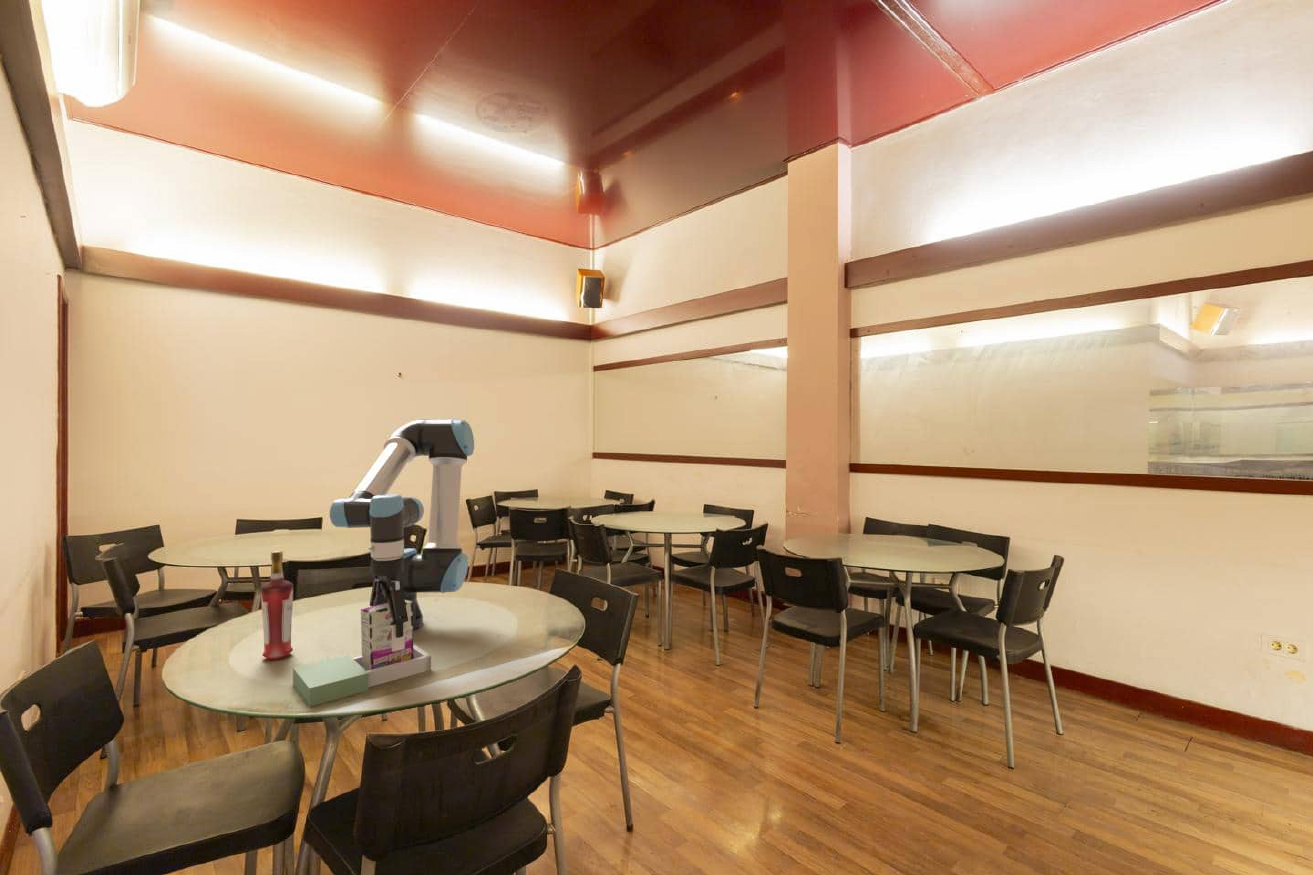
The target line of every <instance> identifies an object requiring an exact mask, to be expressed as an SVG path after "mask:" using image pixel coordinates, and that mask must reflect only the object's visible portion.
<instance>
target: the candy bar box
mask: <svg viewBox="0 0 1313 875" xmlns="http://www.w3.org/2000/svg"><path fill="white" fill-rule="evenodd" d="M405 604H406V610H407V615H408V621H407V622H405V623H404V641H405V649H402V650H398V651H394V652H393V651H392V625H390V623H391V622H392V621H393V620H392V616H391V612H390V608H389V604H388V603H384V604H380V605H376V606H368V607H364V608H361V609H360V626H361V627H360V630H361V632H360V633H361V637H360V638H361V656H362V668H364V669H365V670H366V671H368V670H372V669H376V668H380V667H384V666H387V665H391V664H395V663H399V662H403V661H407V660H411V659H414V654H413V644H414V629H413V616H412V601H409V600H405ZM399 618H401V617H399Z"/></svg>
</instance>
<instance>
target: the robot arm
mask: <svg viewBox="0 0 1313 875" xmlns="http://www.w3.org/2000/svg"><path fill="white" fill-rule="evenodd" d="M474 450H475V439H474V433H473V429H472V427H471V426H470V424H469V422H468V421H466V420H465V419H454V418H447V419H418V420H413V421H410V422H408V423H407V424H404V425H403V426H401V427H400V428H398V429H396V430H395V431H394V432H393V433H391V435H389V437H388V438H387V440H386V441H385V443H384V444H383V450H382V452H381V454H380V455H379V456H378V458H377V459H376V460H375V462H374V463H373V464H372V466H371V467H370V468H369V470H368V471H367V473H365V474H366V475H364V477H363V479H362V480H361V481H360V482H359V484H358V485H357V486H356V487H355V489H354V491H353V492H352V493H351V494H350V495H349V497H348V498H345V497H344V498H342V499H341V498H339V499H336V500H334V501H333V502H332V503H331V505H330V508H329V519H330V523H331V524H332V525H333V526H334V527H335V528H346V529H355V528H359V529H360V528H362V529H363V528H369V529H370V545H369V546H368V551H370V557H371V558H372V559H371V560H370V574H371V575H372V576H373V579H372V580H373V581H372V589H371V593H370V594H371V595H370V601H369V607H372V606H376V605H380V604H384V603H388V604H389V608H390V612H391V616H392V620H393V621H392V622H391V623H390V625H392V651H393V652H394V651H398V650H402V649H405V641H404V623H405V622H407V621H408V615H407V610H406V604H405V600H409V601H412V616H413V630H416V629H418V628H420V627H421V626H422V625H423V624H424V615H423V613H422V610H421V608H420V603H419V602H418V599H417V598H418V597H417V596H418V594H419V593H423V594H424V593H441V594H445V593H454V592H457V591H459V590H460V589H461V587H462V586H463V584H464V583H465V580H466V576H467V574H468V570H469V569H468V567H469V561H468V555H467V554H466V553H464V552H463V547H462V546H461V544H459V542H458V538H459V521H460V520H459V518H460V503H461V502H460V500H461V486H462V484H461V483H462V467H463V466H464V465H465V464H466V463H467V462H468V457H470V456H472V455H473V454H474ZM421 456H423V457H424V456H425V457H426V456H427V457H428V462H429V463H430V464H432V466H433V467H432V481H431V492H430V493H431V496H430V510H429V511H430V512H429V526H428V541H427V543H425V545H424V546H423V547H422V552H421V553H418V551H417V549H416V548H411V547H410V548H405V539H404V528H407V527H412V526H414V525H415V524H416V523H419V522H420V520H422V518H423V516H424V514H425V513H424V512H425V508H424V507H425V506H424V505H423V503H422V501H421V500H419V499H418V498H416V497H414V496H406V497H405V496H404V497H402V495H401V494H396V493H395V494H388V492H389V490H390V489H391V488H392V486H393V485H394V483H395V481H397V479H398V477H399V476H400V474H401V473H402V471H403V469H404V468H405V466H406V465H407V464H409V463H411V462H412V461H413V460H414V459H415V458H416V457H421ZM417 593H418V594H417ZM399 617H401V618H399Z"/></svg>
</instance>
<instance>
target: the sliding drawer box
mask: <svg viewBox="0 0 1313 875" xmlns="http://www.w3.org/2000/svg"><path fill="white" fill-rule="evenodd" d="M413 654H414V659H411V660H407V661H403V662H399V663H395V664H391V665H387V666H384V667H380V668H376V669H372V670H368V671H366V670H365V669H364V668H362V655H359V656H355V657H351V656H350V655H349V654H345V655H341V656H337V657H331V658H327V659H323V660H319V661H314V662H311V663H306V664H302V665H297V666H294V667H292V685H293V686H294V687H295V689H296V691H298V693H299V695H300V696H301V697H302V698H303V700H304V701H305V702H306V704H307V705H308V707H310V708H311V707H314V706H316V705H321V704H325V703H329V702H332V701H335V700H338V699H342V698H343V699H344V698H345V697H351V696H353V695H356V694H360V693H364V692H368V691H369V690H370V688H371V687H374V686H379V685H381V684H385V683H389V682H392V681H397V680H399V679H403V678H407V677H412V676H414V675H418V674H421V673H425V672H429V671H432V655H430V654H429V653H427V652H426V651H424V650H423V649H421V648H420V647H419V646H417V645H416V644H415V643H413Z"/></svg>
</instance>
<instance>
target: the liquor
mask: <svg viewBox="0 0 1313 875" xmlns="http://www.w3.org/2000/svg"><path fill="white" fill-rule="evenodd" d="M283 559H284V551H283V550H275V551H271V552H270V561H271V572H270V581H269V582H267V583H265V584H264V585H262V586H261V587H260V599H261V614H262V628H263V645H264V646H263V647H264V648H263V649H264V651H263V653H262V657H264V658H265V659H267V660H268V661H278V660H282V659H285V658H287V657H288V656H289V655H290V654H292V652H293V650H294V649H293V647H292V621H293V620H292V616H293V602H294V584H293V582H291V581H289V580H285V579H284V571H283V570H284V569H283Z"/></svg>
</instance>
